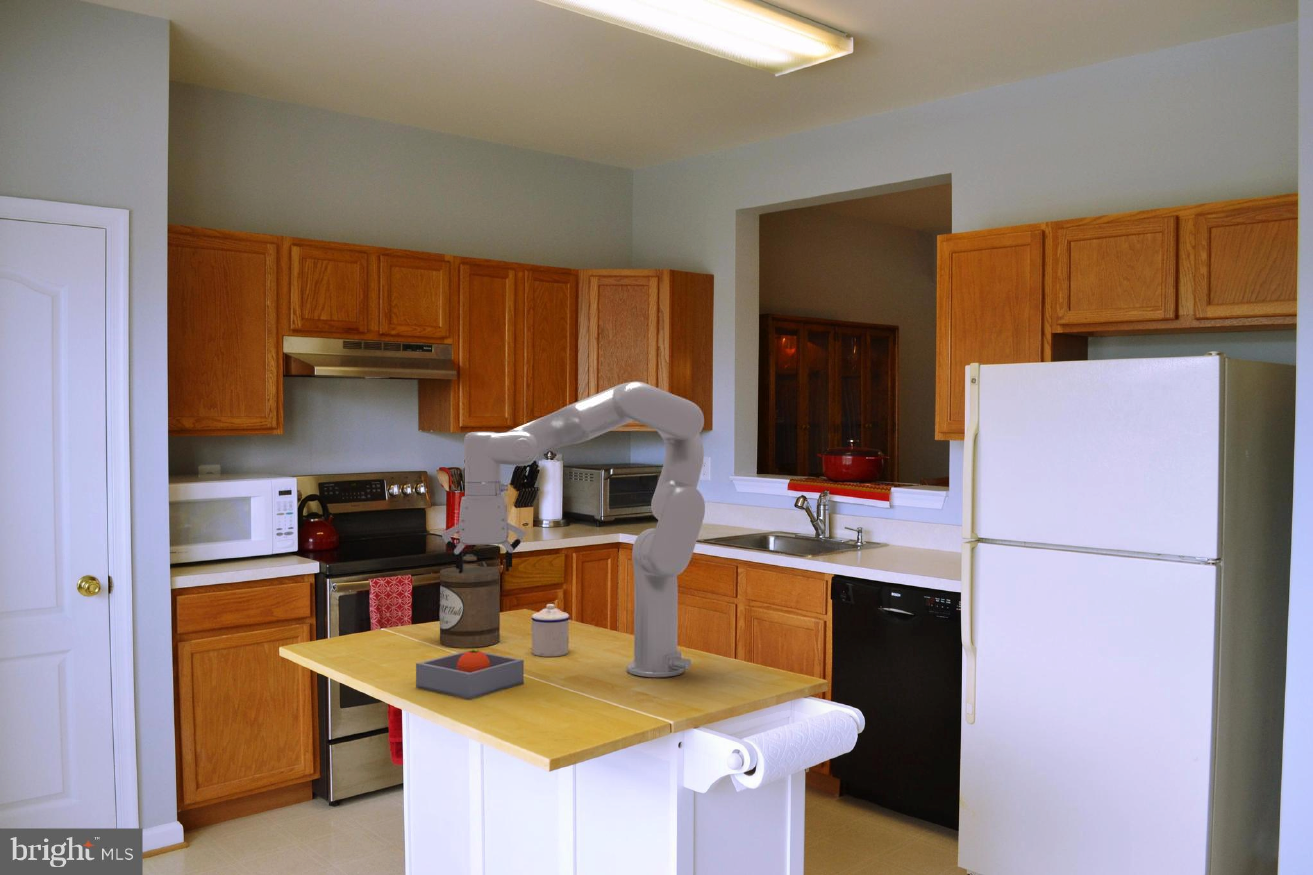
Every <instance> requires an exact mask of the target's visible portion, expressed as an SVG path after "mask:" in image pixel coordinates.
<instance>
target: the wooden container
mask: <svg viewBox="0 0 1313 875" xmlns="http://www.w3.org/2000/svg"><path fill="white" fill-rule="evenodd" d="M477 560H478V559H477V556H476V555H474V554H471V553H470V554H469V553H468V554H465V556H464V555H463V573H459V569H456V566H455V567H454V566H453V567H448V568H443V569H440V570H439V583H440V587H439V588H440V589H439V592H440V593H439V643H440V645H441V646H445V647H449V648H456V649H457V648H458V649H475V648H474V647H477V648H484V647H489V645H490V646H492V645H493V644H494V645H496V644H498V643H499V642H500V639H501V638H500V637H501V636H500V634H501V630H500V629H501V628H500V627H501V626H500V625H501V624H500V623H501V614H500V613H501V612H500V609H501V608H500V583H499V582H500V573H499V572H500V571H499V568H497V567H491V566H479V565H478V564H477V563H476V562H477ZM494 645H493V646H494Z"/></svg>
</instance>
